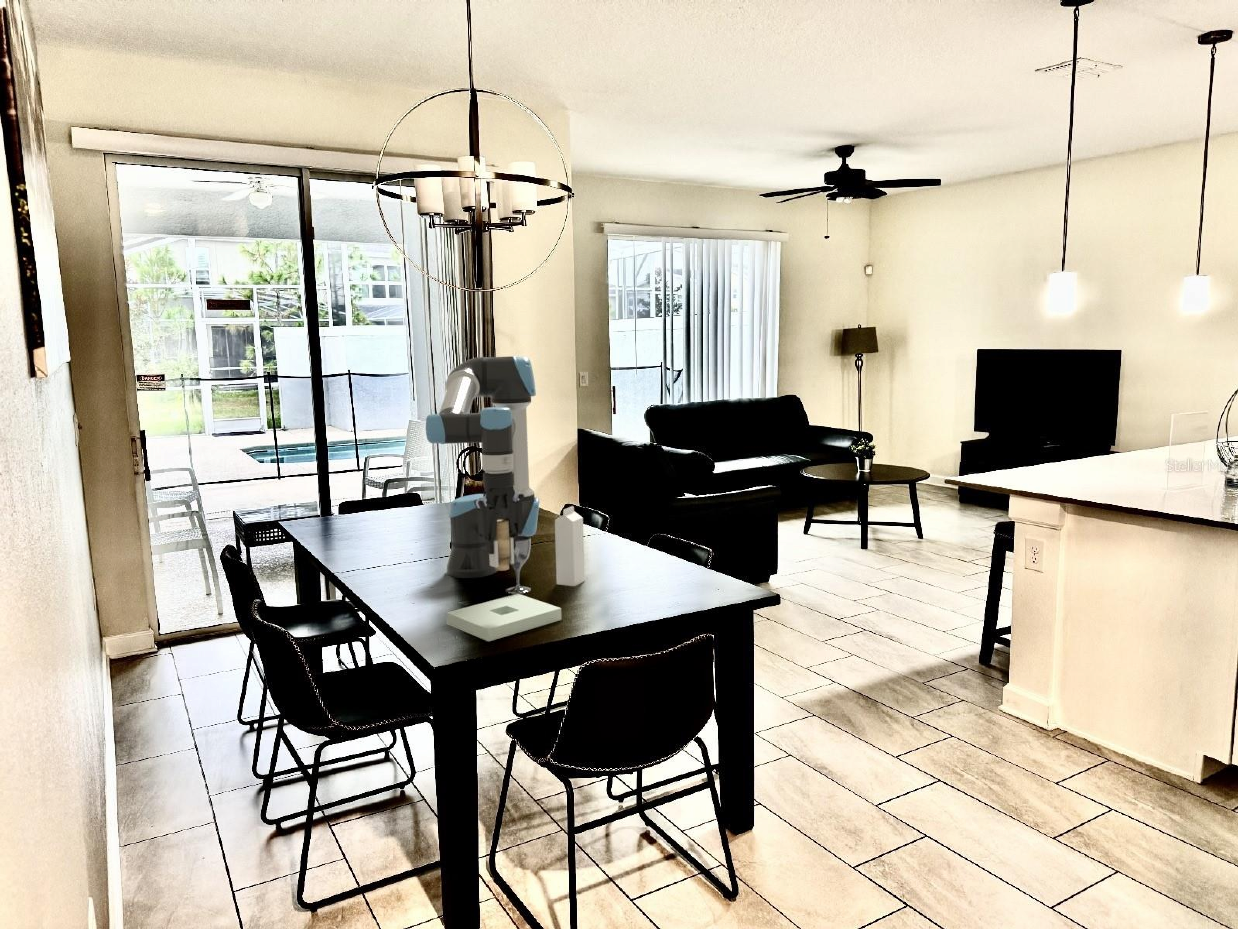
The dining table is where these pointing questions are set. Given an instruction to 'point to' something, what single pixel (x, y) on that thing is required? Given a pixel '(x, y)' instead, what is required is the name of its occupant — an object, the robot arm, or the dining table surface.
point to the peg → (503, 544)
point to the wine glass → (520, 561)
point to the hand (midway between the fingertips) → (502, 564)
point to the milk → (569, 548)
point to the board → (503, 617)
